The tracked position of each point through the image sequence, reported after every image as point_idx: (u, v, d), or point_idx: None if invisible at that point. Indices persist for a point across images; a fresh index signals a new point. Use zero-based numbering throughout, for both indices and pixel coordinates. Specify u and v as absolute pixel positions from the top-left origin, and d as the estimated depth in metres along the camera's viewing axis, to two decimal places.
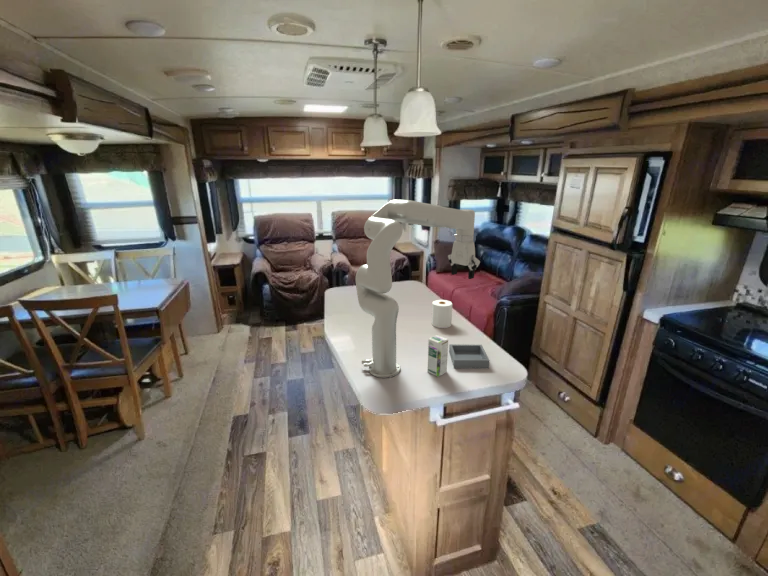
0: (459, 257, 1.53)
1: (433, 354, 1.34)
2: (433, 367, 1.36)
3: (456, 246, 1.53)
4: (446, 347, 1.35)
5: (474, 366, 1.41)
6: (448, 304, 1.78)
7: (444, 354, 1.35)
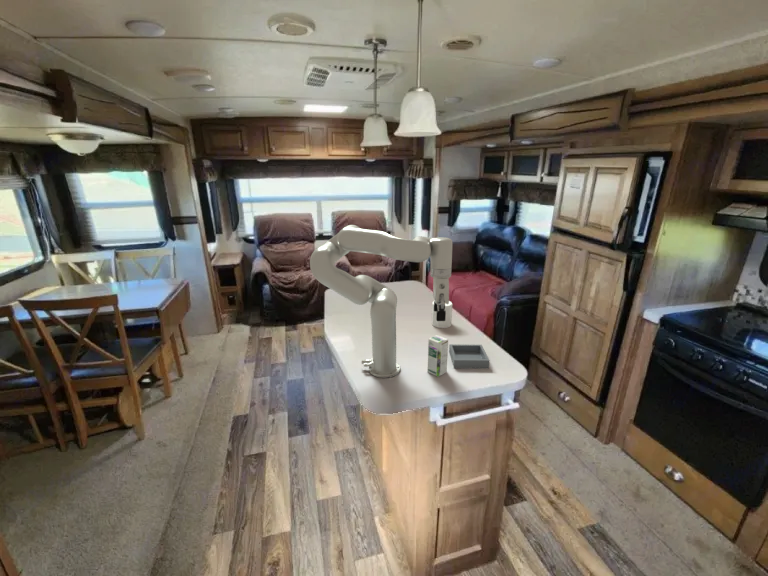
0: None
1: (433, 354, 1.34)
2: (433, 367, 1.36)
3: None
4: (446, 347, 1.35)
5: (474, 366, 1.41)
6: (448, 304, 1.78)
7: (444, 354, 1.35)
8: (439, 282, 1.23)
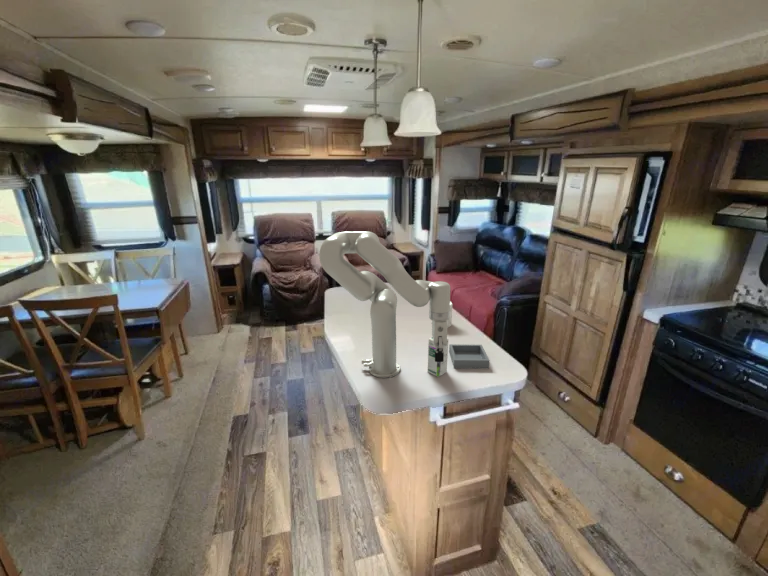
0: None
1: (433, 354, 1.34)
2: (433, 367, 1.36)
3: None
4: (446, 347, 1.35)
5: (474, 366, 1.41)
6: None
7: (444, 354, 1.34)
8: (437, 325, 1.28)
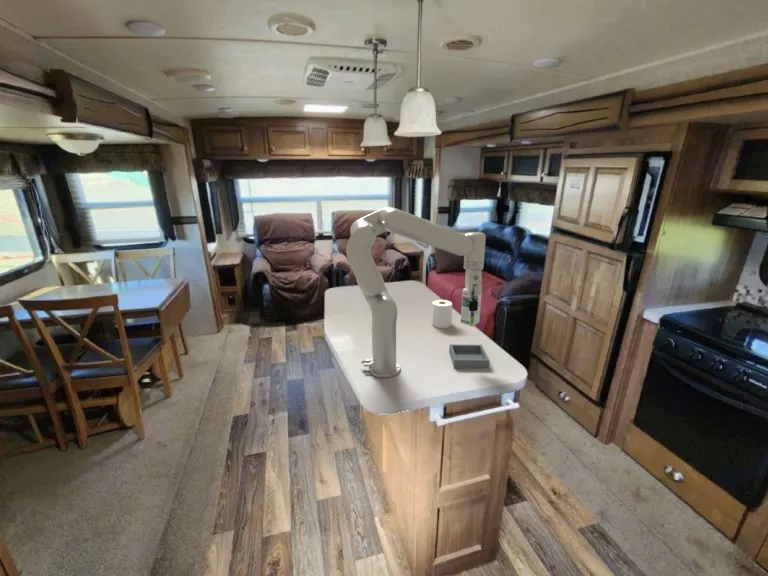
0: None
1: (467, 304, 1.38)
2: (466, 317, 1.39)
3: None
4: (480, 297, 1.38)
5: (474, 366, 1.41)
6: (448, 304, 1.78)
7: None
8: (473, 274, 1.32)
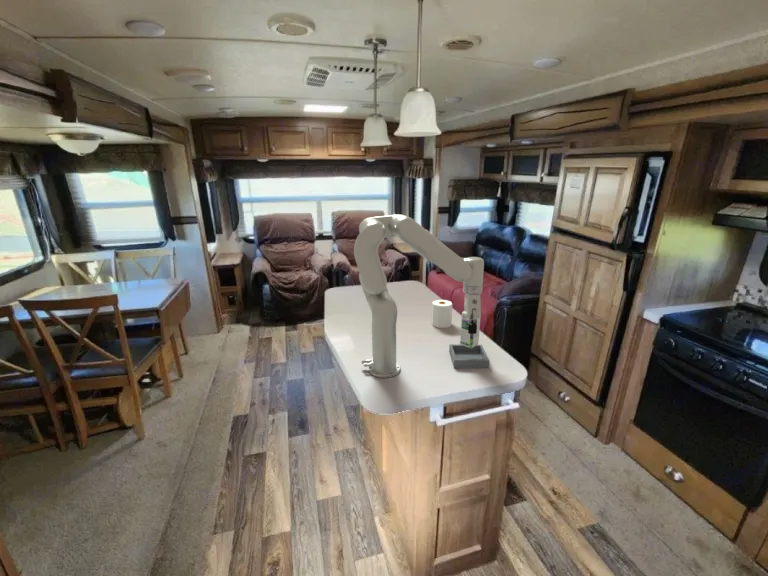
0: None
1: (467, 327, 1.41)
2: (466, 339, 1.43)
3: None
4: (479, 320, 1.41)
5: (474, 366, 1.41)
6: (448, 304, 1.78)
7: None
8: (472, 298, 1.35)
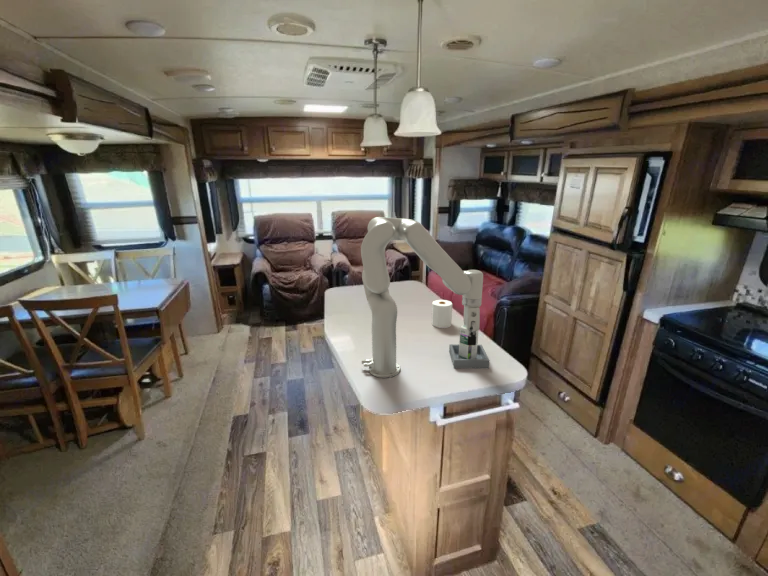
0: None
1: (465, 341, 1.43)
2: (464, 353, 1.45)
3: None
4: (477, 335, 1.44)
5: (474, 366, 1.41)
6: (448, 304, 1.78)
7: None
8: (471, 311, 1.36)
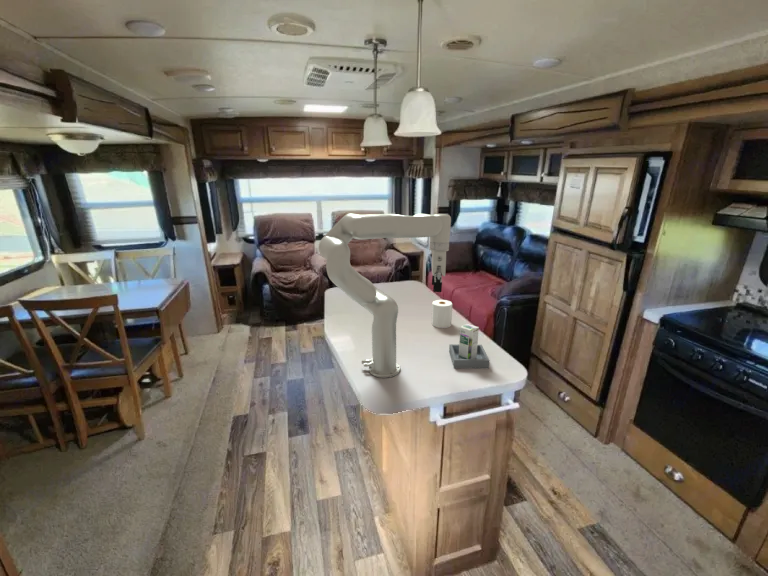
0: None
1: (465, 341, 1.43)
2: (464, 353, 1.45)
3: None
4: (477, 335, 1.44)
5: (474, 366, 1.41)
6: (448, 304, 1.78)
7: (474, 341, 1.43)
8: (437, 255, 1.33)
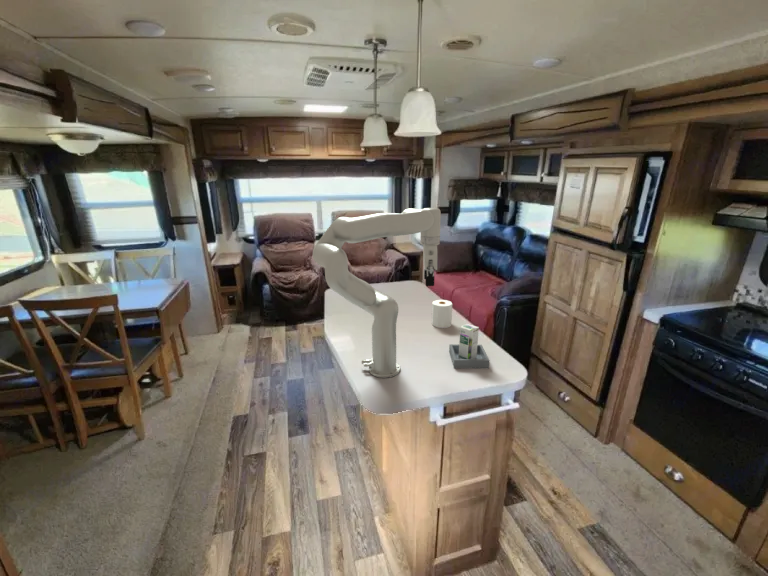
0: None
1: (465, 341, 1.43)
2: (464, 353, 1.45)
3: None
4: (477, 335, 1.44)
5: (474, 366, 1.41)
6: (448, 304, 1.78)
7: (474, 341, 1.43)
8: (428, 249, 1.33)
